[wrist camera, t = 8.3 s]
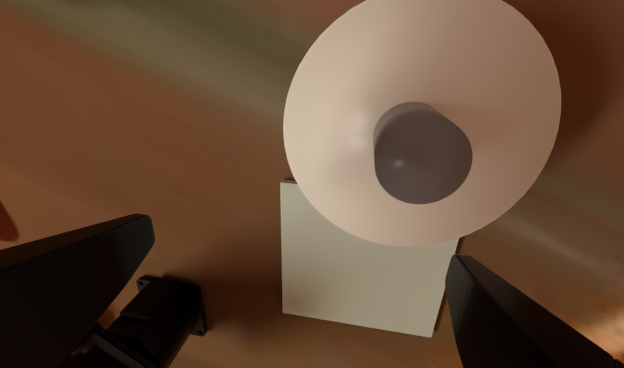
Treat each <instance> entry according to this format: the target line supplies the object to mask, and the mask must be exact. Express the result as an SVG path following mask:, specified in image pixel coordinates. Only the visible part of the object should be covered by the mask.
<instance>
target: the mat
mask: <svg viewBox="0 0 624 368" xmlns="http://www.w3.org/2000/svg"><path fill="white" fill-rule="evenodd" d="M280 189H281V248H282V307H283V313H287V314H293V315H299V316H305V317H311V318H317V319H323V320H329V321H335V322H341V323H347V324H353V325H359V326H365V327H371V328H376V329H382V330H388V331H394V332H400V333H406V334H412V335H418V336H424V337H430V338H431V337H432V333H433V329H434V326H435V322H436V319H437V315H438V312H439V308H440V304H441V301H442V297H443V294H444V290H445V278H446V274H447V270H448V267H449V263H450V260H451V257H452V255H454V254H455V251H456V247H457V244H458V240H459V238H457V239H454V240H451V241H447V242H443V243H439V244H433V245H426V246H412V247H404V246H391V245H385V244H379V243H375V242H371V241H368V240H364V239H362V238H359V237H357V236H354V235H352V234H350V233H348V232H346V231H344V230H342V229H341V228H339V227H337V226H336V225H334V224H333V223H332V222H330V221H329V220H327V219H326V218H325V217H324V216H323V215H322V214H320V213H319V212H318V211H317V210H316V209H315V208H314V207H313V205H312V204H311V203H310V202H309V201H308V200H307V198H306V197H305V195H304V194H303V192H302V191H301V189H300V188H299V186H298V184H297V182H296V181H293V180H282V181H281V182H280Z"/></svg>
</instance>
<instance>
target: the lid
mask: <svg viewBox="0 0 624 368" xmlns="http://www.w3.org/2000/svg"><path fill="white" fill-rule="evenodd" d="M560 115H561V88H560V82H559V76H558V71H557V68H556V65H555V63H554V60H553V57H552V54H551V52H550V50H549V48H548V47H547V45H546V43H545V41H544V39H543V38H542V36H541V35H540V34H539V32H538V31H537V30H536V29H535V27H534V26H533V25H532V24H531V22H530V21H529V20H528V19H527V18H525V17H524V16H523V15H522V14H521V13H520V12H518V11H517V10H516V9H515V8H514V7H512V6H511V5H509V4H507V3H506V2H504V1H502V0H366V1H364V2H362V3H361V4H359V5H357V6H355V7H353V8H352V9H350V10H349V11H348V12H346V13H345V14H344V15H342V16H341V17H340V18H338V19H337V20H336V21H334V22H333V23H332V24H331V25H330V26H329V27H328V28H327V29H326V30H325V31H324V32H323V33H322V34H321V35H320V36H319V38H318V39H317V40H316V41H315V43H314V44H313V45H312V46H311V47H310V49H309V50H308V52H307V53H306V55H305V57H304V58H303V60H302V62H301V63H300V65H299V67H298V69H297V71H296V73H295V76H294V78H293V80H292V83H291V86H290V89H289V92H288V96H287V100H286V105H285V111H284V124H283V134H284V146H285V150H286V155H287V160H288V163H289V166H290V168H291V171H292V174H293V176H294V178H295V180H296V182H297V184H298V186H299V188H300V189H301V191H302V192H303V194H304V195H305V197H306V198H307V200H308V201H309V202H310V203H311V204H312V205H313V207H314V208H315V209H316V210H317V211H318V212H319V213H320V214H322V215H323V216H324V217H325V218H326V219H327V220H329V221H330V222H332V223H333V224H334V225H336V226H337V227H339V228H341V229H342V230H344V231H346V232H348V233H350V234H352V235H354V236H357V237H359V238H362V239H364V240H368V241H371V242H375V243H379V244H385V245H391V246H404V247H412V246H426V245H433V244H439V243H443V242H447V241H451V240H454V239H457V238H460V237H463V236H465V235H468V234H470V233H472V232H474V231H476V230H478V229H480V228H482V227H484V226H486V225H488V224H489V223H491V222H492V221H494V220H495V219H497V218H499V217H500V216H501V215H502V214H504V213H505V212H506V211H507V210H509V209H510V208H511V207H512V206H513V205H514V204H515V203H516V202H517V201H518V200H519V199H520V198H521V197H522V196H523V195H524V194H525V193H526V192H527V191H528V189H529V188H530V187H531V186H532V184H533V183H534V182H535V181H536V179H537V178H538V176H539V174H540V173H541V171H542V169H543V168H544V166H545V164H546V162H547V160H548V158H549V156H550V153H551V151H552V149H553V146H554V143H555V140H556V136H557V133H558V129H559V123H560Z"/></svg>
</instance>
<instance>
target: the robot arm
mask: <svg viewBox="0 0 624 368" xmlns="http://www.w3.org/2000/svg"><path fill="white" fill-rule="evenodd" d="M154 241H155V235H154V231H153V226H152V221H151V218H150V217H149V216H148V215H144V214H132V215H128V216H124V217H121V218H117V219H113V220H110V221H106V222H102V223H98V224H95V225H91V226H87V227H84V228H80V229H76V230H73V231H69V232H65V233H61V234H58V235H54V236H50V237H47V238H43V239H39V240H36V241H32V242H28V243H24V244H21V245H17V246H13V247H10V248H6V249H2V250H0V368H169V366H170V364H171V363H172V361H173V360H174V358H175V357H176V355H177V354H178V352H179V350H180V349H181V347H182V346H183V344H184V343H185V341H186V340H187V338H188V336H189V335H190V334H192V335H197V336H204V335H205V334H206V332H207V327H206V321H205V315H204V309H203V303H202V297H201V292H200V288H199V287H198V286H196V285H192V284H186V283H179V282H173V281H167V280H161V279H154V278H148V277H140V278H139V279H138V280H137V281H136V282H137V286H138V290H139V293H138V294H137V295H136V296H135V297H134V298H133V299H132V300H131V301H130V302H129V303H128V305H127V306H126V307H125V308H124V309H123V310H122V311H121V312H120V316H119V317H118V318H117V319H116V320H115V321H114V322H113V323H112V324H111V325H110V326H109V327H108V328H107V329H105V328H103V327H102V326H101V324H100V323H98V322H97V320H98V319H99V318H100V316H101V315H102V314H103V313H104V311H105V310H106V309H107V308H108V307H109V305H110V304H111V303H112V302H113V301H114V299H115V298H116V297H117V296H118V295H119V293H120V292H121V291H122V289H123V288H124V287H125V286H126V284H127V283H128V281H129V280H130V279H131V277H132V276H133V274H134V273H135V271H136V270H137V268H138V267H139V265H140V264H141V262H142V261H143V260H144V258H145V257H146V255H147V254H148V252H149V251H150V249H151V248H152V246H153V244H154ZM445 288H446V293H447V299H448V304H449V310H450V315H451V321H452V326H453V332H454V336H455V341H456V344H457V348H458V352H459V355H460V358H461V361H462V365H463V368H624V364H623V363H622V362H620V361H619V360H617V359H614V360H613V357H612V355H610V354H609V353H607V352H606V351H605V350H603V349H602V348H600V347H599V346H597V345H596V344H595V343H593V342H592V341H590V340H589V339H588V338H586V337H585V336H583V335H582V334H580V333H579V332H578V331H576V330H575V329H573V328H572V327H570V326H569V325H568V324H566V323H565V322H563V321H562V320H561V319H559V318H558V317H556V316H555V315H553V314H552V313H551V312H549V311H548V310H546V309H545V308H544V307H542V306H541V305H539V304H538V303H536V302H535V301H534V300H532V299H531V298H529V297H528V296H527V295H525V294H524V293H522V292H521V291H519V290H518V289H517V288H515V287H514V286H512V285H511V284H509V283H508V282H507V281H505V280H504V279H502V278H501V277H500V276H498V275H497V274H495V273H494V272H492V271H491V270H490V269H488V268H487V267H485V266H484V265H483V264H481V263H480V262H478V261H477V260H475V259H474V258H473V257H471V256H469V255H462V254H454V255H452V257H451V260H450V263H449V267H448V270H447V274H446V278H445Z"/></svg>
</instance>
